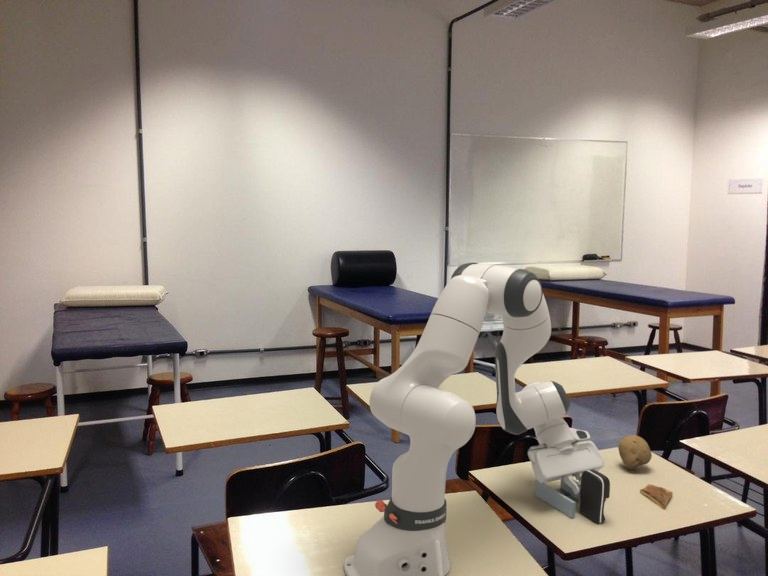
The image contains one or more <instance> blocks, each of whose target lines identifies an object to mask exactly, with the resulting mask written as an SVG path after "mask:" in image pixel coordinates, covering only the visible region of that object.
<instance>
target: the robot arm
mask: <svg viewBox="0 0 768 576" xmlns="http://www.w3.org/2000/svg"><path fill="white" fill-rule="evenodd" d="M486 314H490V315H496V316H501V319H502V320H501V321H502V324H503V331H502V332H503V333H502V336H501V337H500V338H501V339H500V340H499V342H498V343H497V344H496V346H495V351H494V366H495V367H494V368H495V382H496V383H495V384H496V387H495V388H496V401H495V402H496V403H495V404H496V417H497V420H498V423H499V426H500V427H501V428H502V430H503V431H505V432H507V433H509V434H512V435H515V436H516V435H517V436H518V435H521V434H522V433H525V432H528V430H531V429H534V433H535V437H536V439H537V442H538V445H533V446H530V447H529V448H528V450H527V456H528V459H529V460H530V463H531V464H530V465H531V468H532V470H533V474H534V476H535V478H536V480H537V481H539V482H540V483H545V484H547V483H550V482H554V481H559V480H560V481H561V479H564V481H565V483H566V484H567V485H568V486H569V487H571V488H572V490H573V492H574V494H580V487H581V475H582V473H583V472H584V471H586V470H596V471H598V472H599V471H600V470H601V469H603V468H604V467H605V461H604V458H603V456H602V453H601V452H600V451H599V449H598V447H597V446H596V444H595V443H594V442H593V441H592V440H590V439H591V435H590V432H589V431H587V430H584V429H583V430H582V429H576V428H574V427H569V425H568V423H567V422H566V421H565V419H564V418H563V417H564V416H566V415H567V414H568V411H569V409H570V407H571V400H570V398H569V397H568V394H567V393H566V390H565V388H564V387H563V385H562V384H561V383H558V382H555V381H554V380H550V381H549V380H547V381H545V382H543V381H534V382H531V383H529V384H527V385H525V386H524V387H523V389H521V390H520V391H518V392H516V381H515V379H516V378H515V376H516V373H517V370H519V368H520V367H521V366H522V365H523V364H524V363H525V362H526V361H527V360H528V359H530V358H531V357H532V356H534V355H536V354H537V353H538V352H540V351H541V350H542V349H543V348H544V347H545V345H546V344H548V342H549V340H550V338H551V334H552V322H551V316H550V311H549V307H548V304H547V301H546V298H545V294H544V292H543V285H542V283H541V280H540V279H539V277H538V276H537V275H536V274H535V273H533V272H532V271H529V270H527V269H523V268H515V267H510V266H505V265H501V264H497V263H478V262H467V263H463V264H460V265H459V266H458V267H457V268H456V269H455V270H454V272H452V274H451V277H450V279H449V281H448V282H447V284H446V285H445V287H444V288H443V290H442V292H441V293H440V294H439V296H438V298H437V300H436V302H435V305H434V306H433V308H432V311H431V313H430V315H429V318H428V321H427V323H426V326H425V327H424V329H423V332H422V334H421V336H420V339H419V341H418V342H417V344H416V347H415V349H414V350H413V351H412V353H411V355H409V357H408V358H407V359H406V360H405V361H404V363H403V364H402V365H401V366H400V367H399V368H398V369H397V370H396V371H394V372H393V373H391V374H390V375H388V376H385V377H384V378H382V379H380V380H378V381H377V382H376V384H374V386H373V388H372V390H371V393H370V396H369V408H370V411H371V413H372V415H373V417H375V418H376V419H377V420H378V421H380V422H381V423H382V424H384V426H386V427H388V428H390V429H392V430H394V431H397V432H400V433H402V434H404V435H408V436H409V440H410V442H409V443H410V444H409V449H408V451H407V452H404V453H402V454H401V455H399V457H397V458H396V459H395V461H394V463H393V464H392V473H391V474H392V480H391V496H390V498H389V501H388V503H385V502H384V501H383V500H382V499H377V500H376V501H375V502H374V503H375V504H374V506H375V508H376V510H378V512H380V513H383V516H382V517H381V518H380V519H379V520H378V521H377V522H375V523H374V524H373V525H372V526H371V527H370V528H369V529H367V530H366V531H365V532H364V533H363V534H361V535H360V536H359V538H358V539H357V542H356V546H355V551H354V553H353V554H350V555H348V556H347V557H345V559H344V563H343V571H344V574H345V575H346V576H446V575H447V574H448V573H449V571H450V569H451V561H450V557H449V553H448V547H447V540H446V528H445V527H446V526H445V525H446V520H447V500H446V480H447V479H446V477H447V471H448V465H449V462H450V459H451V457H452V456H453V454H454V453H455V452H456V451H457V450H458V449H460V448H462V447H463V446H465V445H466V444H467V443H468V442H469V440H470V439H471V438H472V437H473V435H474V433H475V430H476V424H477V423H476V421H477V417H476V413H475V409H474V407H473V406H472V404H471V403H470V402H468V401H467V400H465V399H464V398H462V397H461V396H459V395H457V394H455V393H453V392H451V391H449V390H445V389H441V388H440V386H441V385H442V383H444V382H445V381H446V380H447V379H448V378H449V377H451V376H453V375H456V374H458V373H460V372H461V373H462V371H464V370H465V368H466V367H467V366H468V364H469V361H470V359H471V357H472V353H473V351H474V349H475V346H476V343H477V341H478V339H479V336H480V333H481V331H482V328H483V325H484V321H485V318H486ZM574 478H575V481H578V483H579V485H577V484H576V483H575V482H574V481H573V480H574ZM572 479H573V480H572Z"/></svg>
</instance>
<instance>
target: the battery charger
mask: <svg viewBox="0 0 768 576" xmlns="http://www.w3.org/2000/svg"><path fill="white" fill-rule="evenodd" d="M610 491H611V481H610V479H609V478H608V476H607V475H605V474H603V473H602V472H599V470H598V471H596V470H586V471H584V472H583V473H582V475H581V487H580V501H579V513H581V514H582V515H583V516H585V517H586V518H588V519H589V520H591V521H593V522H594V523H596V524H601V523H604V522H605V521H606V517H605V513H604V509H605V502H606V500H607V499H610V495H611V494H610Z"/></svg>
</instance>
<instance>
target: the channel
mask: <svg viewBox="0 0 768 576" xmlns="http://www.w3.org/2000/svg"><path fill="white" fill-rule="evenodd" d="M572 480H573V481H574V482H575V483H576V484H577V485H579V481H578V480H576V479H574V478H573V479H572ZM534 485H535V486H534V487H535V488H534V496H536V497H538V498H539V499H540V498H541V500H542V501H544V502H545V501H546V502H545V503H547V504H548V503H549V505H550V506H551V505H552V506H551V507H552V508H554V507H555V508H554V509H556V508H557V509H556V510H557V511H559V510H560V513H562V512H563V513H562V514H563V515H565V514H566V515H565V516H567V515H568V516H569V517H568V516H567V517H568V518H570V517H571V518H570V519H575V518H576V503H577V502H576V501H574V500H573V499H571V498H570V497H568V496H571V497H573V498H574V497H575V498H574V499H576V498H577V499H576V500H578V501H579V500H580V494H574V492H573V490H572V488H571V487H569V486H568V485H567V484H566V483H565V481H564V479H560V487H558V488H553V487H551V486H550V485H548V484H547V483H540V482H539V481H537V479H536V480H535V484H534ZM567 495H568V496H567Z"/></svg>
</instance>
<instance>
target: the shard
mask: <svg viewBox="0 0 768 576" xmlns="http://www.w3.org/2000/svg"><path fill="white" fill-rule="evenodd" d="M639 493H640V494H642V495H643V496H645V497H647V498H648V499H649V500H650V501H651V502H653V503H654V504H655V505H657V506H658V507H660V508H661V509H663V510H665V508H666V507H667V503H668V502H669V501H670V498H671V497H672V496H673V492H672V491H671V490H669V489H667V488H664V487H662V486H657V485H653V484H651V483H650V484H649V483H647V484H646V485H645V487H643V488H642V489H639Z"/></svg>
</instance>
